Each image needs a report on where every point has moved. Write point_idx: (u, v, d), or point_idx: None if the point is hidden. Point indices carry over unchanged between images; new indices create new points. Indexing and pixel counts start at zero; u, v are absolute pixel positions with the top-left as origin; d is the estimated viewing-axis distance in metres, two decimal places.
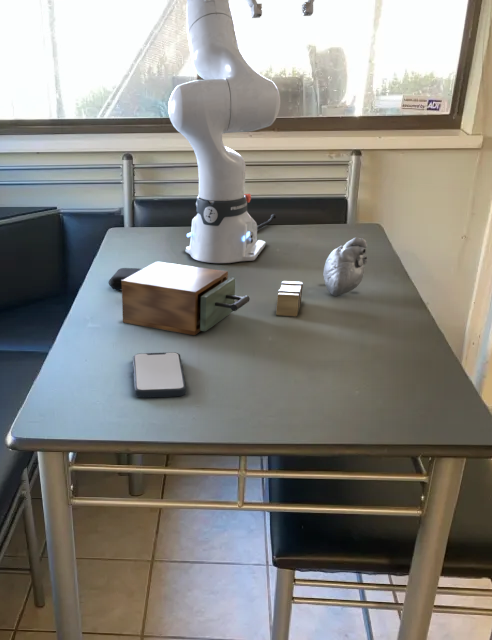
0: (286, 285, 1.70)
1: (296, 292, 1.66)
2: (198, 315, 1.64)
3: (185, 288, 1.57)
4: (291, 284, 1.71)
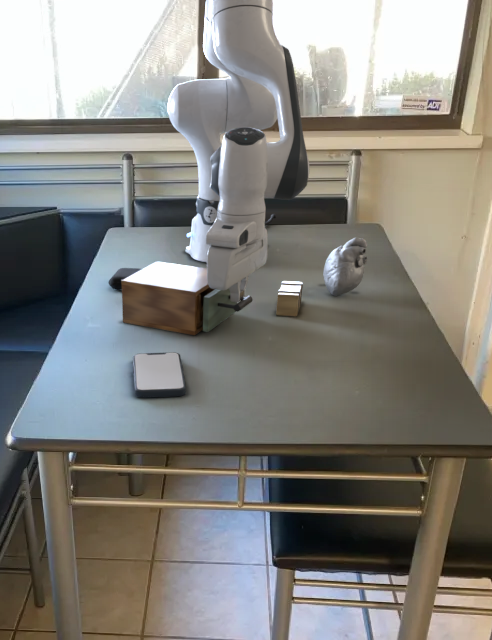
0: (286, 285, 1.70)
1: (296, 292, 1.66)
2: (201, 315, 1.64)
3: (185, 288, 1.57)
4: (291, 284, 1.71)
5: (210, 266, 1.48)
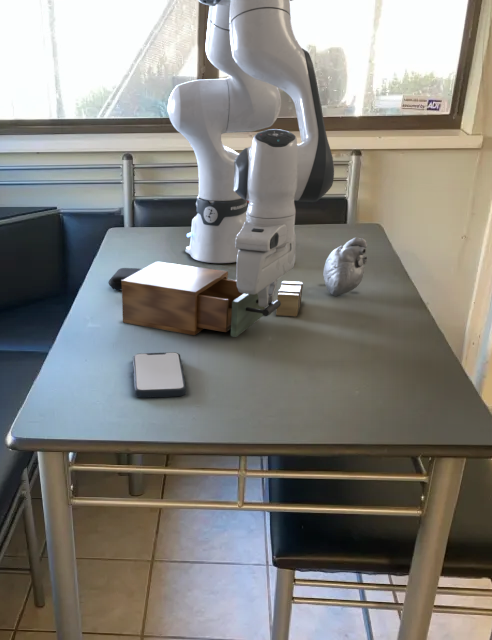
0: (286, 285, 1.70)
1: (296, 292, 1.66)
2: (228, 320, 1.61)
3: (185, 288, 1.57)
4: (291, 284, 1.71)
5: (240, 270, 1.46)
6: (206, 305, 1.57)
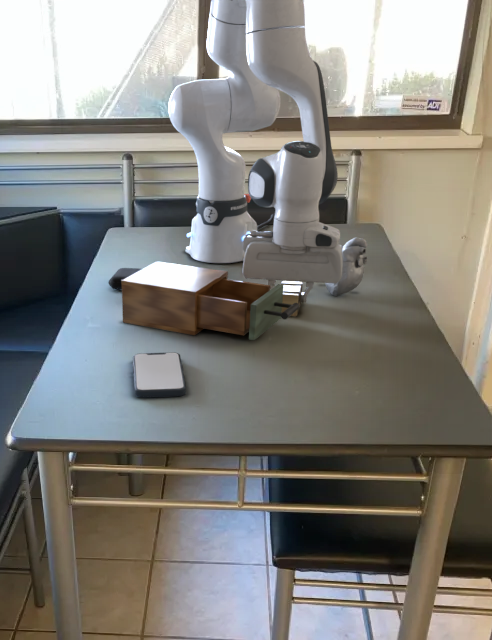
0: (286, 285, 1.70)
1: (296, 292, 1.66)
2: (245, 323, 1.59)
3: (185, 288, 1.57)
4: (291, 284, 1.71)
5: (341, 262, 1.62)
6: (224, 307, 1.55)
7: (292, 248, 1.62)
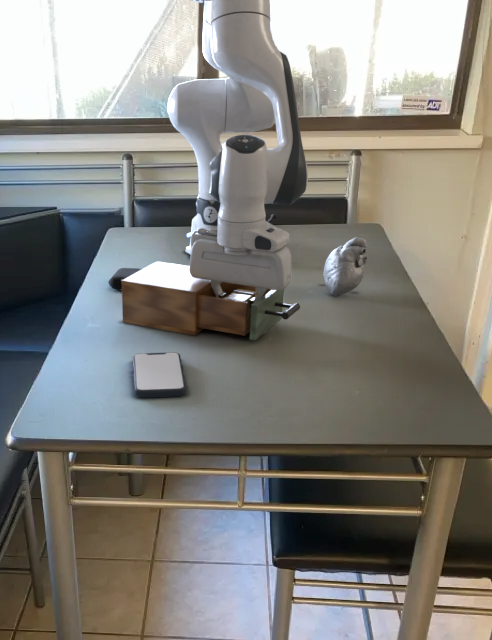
0: (236, 293, 1.61)
1: None
2: (246, 323, 1.59)
3: (185, 288, 1.57)
4: (242, 293, 1.61)
5: (285, 268, 1.51)
6: (225, 308, 1.55)
7: (233, 249, 1.52)
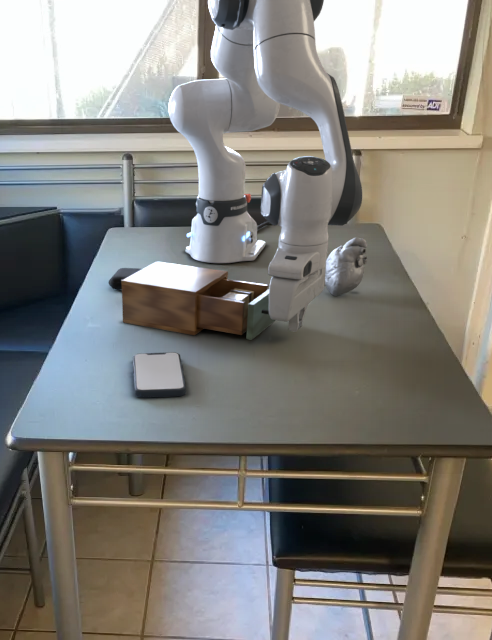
0: (233, 293, 1.61)
1: None
2: (243, 323, 1.60)
3: (185, 288, 1.57)
4: (239, 292, 1.61)
5: (273, 297, 1.45)
6: (222, 307, 1.56)
7: None
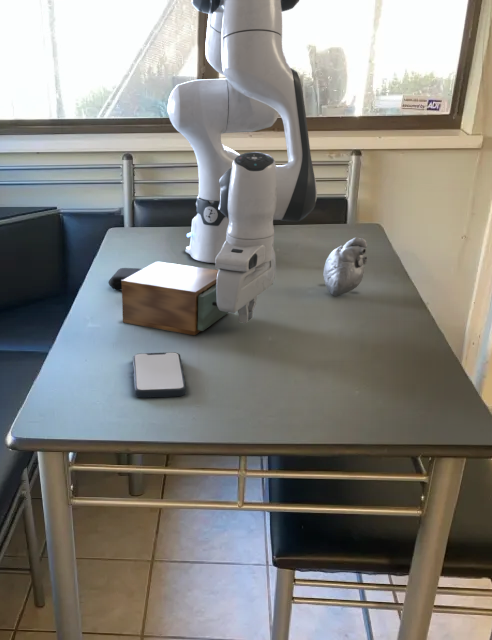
0: None
1: None
2: None
3: (185, 288, 1.57)
4: None
5: (220, 289, 1.50)
6: None
7: None
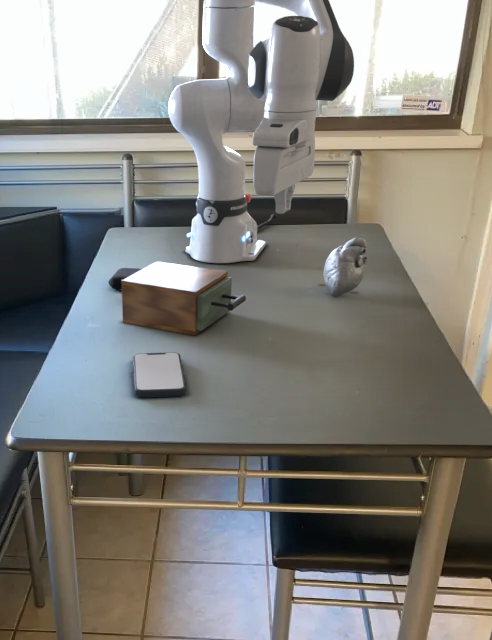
0: None
1: None
2: None
3: (185, 288, 1.57)
4: None
5: (258, 168, 1.37)
6: None
7: None
